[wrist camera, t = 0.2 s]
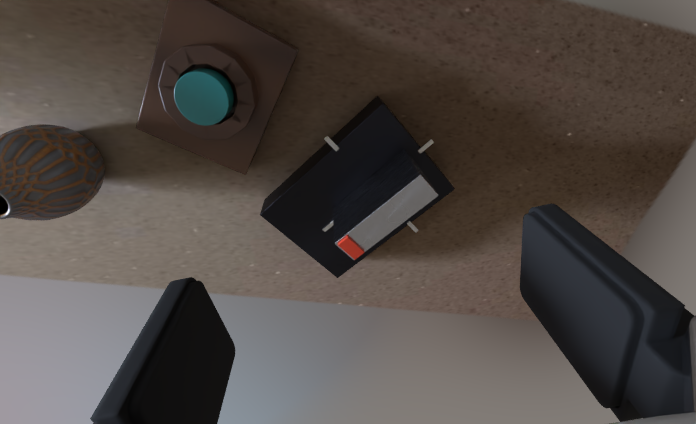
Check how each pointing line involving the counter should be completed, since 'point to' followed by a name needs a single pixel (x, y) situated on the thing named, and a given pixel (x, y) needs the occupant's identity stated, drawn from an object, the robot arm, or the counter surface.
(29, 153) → the vase
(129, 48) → the counter surface
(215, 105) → the button
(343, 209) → the metal block
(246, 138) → the brown square base
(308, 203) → the black rectangular base
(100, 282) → the counter surface
